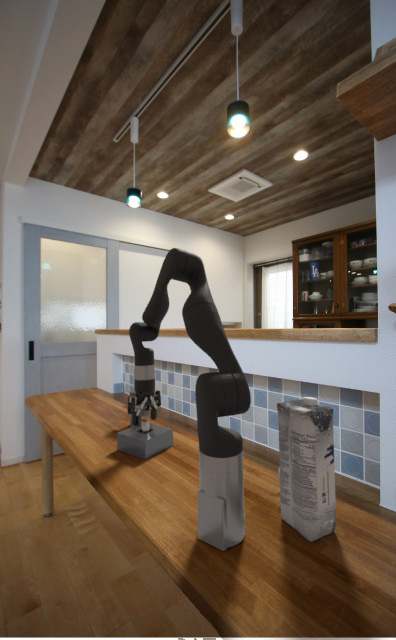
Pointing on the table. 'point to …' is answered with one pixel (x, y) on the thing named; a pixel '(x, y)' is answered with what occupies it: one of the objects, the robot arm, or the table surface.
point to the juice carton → (307, 467)
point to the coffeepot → (142, 412)
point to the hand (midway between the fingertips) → (145, 422)
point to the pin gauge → (145, 424)
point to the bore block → (144, 440)
